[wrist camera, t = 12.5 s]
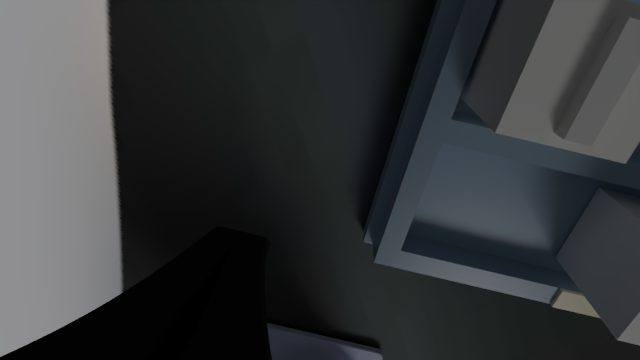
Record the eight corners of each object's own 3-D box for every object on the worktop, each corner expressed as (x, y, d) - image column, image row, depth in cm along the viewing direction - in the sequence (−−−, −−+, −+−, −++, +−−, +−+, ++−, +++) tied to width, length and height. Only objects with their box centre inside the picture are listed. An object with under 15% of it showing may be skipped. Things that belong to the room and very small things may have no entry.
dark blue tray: (706, 311, 21) (753, 353, 18) (363, 231, 20) (363, 262, 18) (952, 45, 14) (1073, 55, 12) (460, -74, 14) (482, -89, 12)
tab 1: (550, 115, 16) (639, 172, 11) (456, 94, 16) (501, 139, 11) (601, 13, 14) (737, 23, 9) (496, -13, 14) (574, -17, 9)
